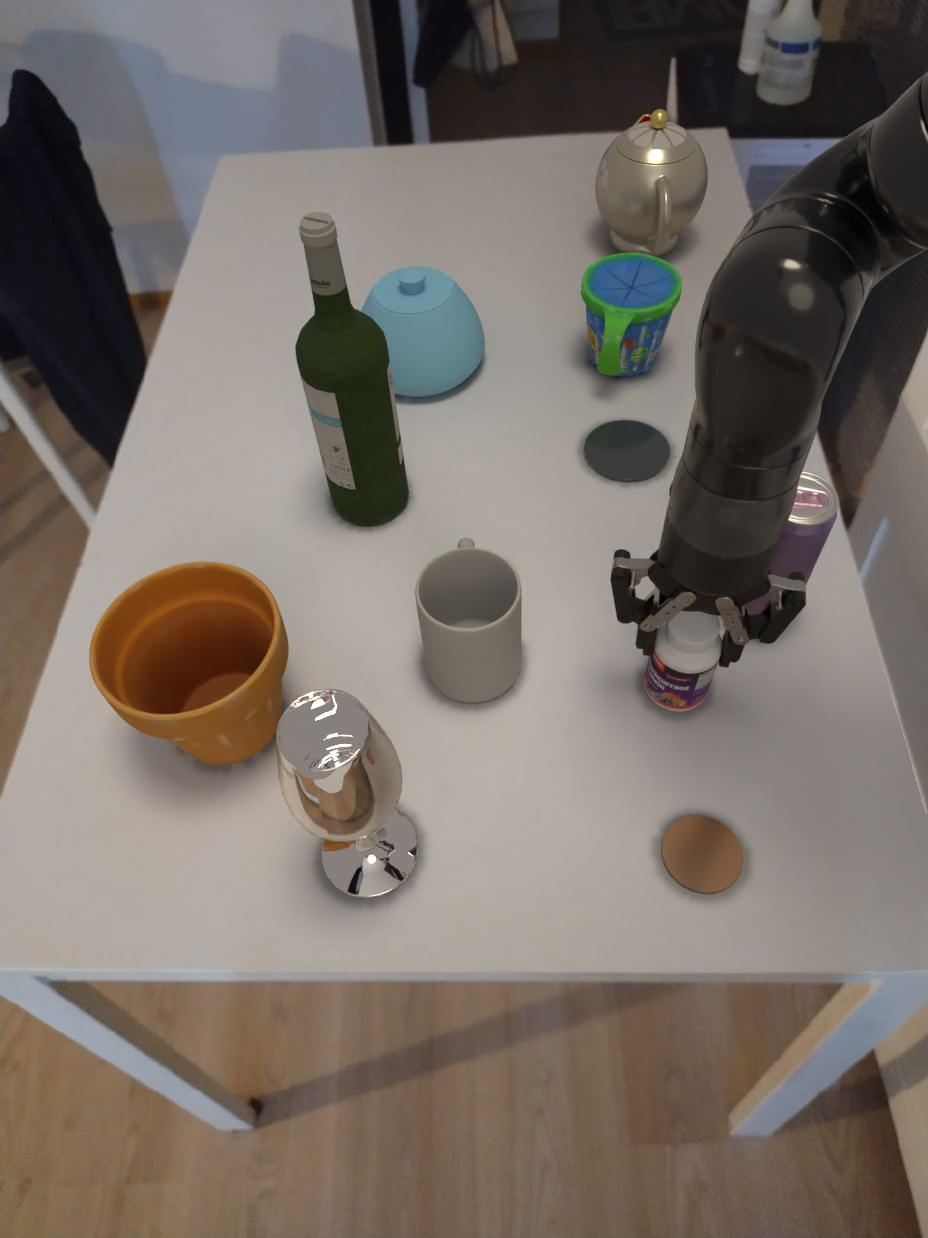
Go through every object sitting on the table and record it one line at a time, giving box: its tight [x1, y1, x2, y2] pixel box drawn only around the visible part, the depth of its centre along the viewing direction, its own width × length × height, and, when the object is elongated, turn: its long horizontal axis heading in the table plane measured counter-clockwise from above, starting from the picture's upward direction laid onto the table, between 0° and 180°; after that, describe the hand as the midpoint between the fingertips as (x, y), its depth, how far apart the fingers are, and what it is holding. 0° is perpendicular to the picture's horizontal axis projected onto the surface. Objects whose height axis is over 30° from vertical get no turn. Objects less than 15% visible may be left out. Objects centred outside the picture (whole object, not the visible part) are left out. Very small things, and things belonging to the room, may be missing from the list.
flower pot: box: [88, 561, 289, 766], centre depth 69 cm, size 14×14×13 cm
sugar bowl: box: [360, 265, 486, 398], centre depth 96 cm, size 15×15×12 cm
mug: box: [414, 537, 523, 704], centre depth 73 cm, size 12×8×11 cm
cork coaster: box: [661, 815, 744, 894], centre depth 65 cm, size 6×6×1 cm
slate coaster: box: [583, 419, 671, 483], centre depth 90 cm, size 9×9×1 cm
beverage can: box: [747, 470, 840, 615], centre depth 72 cm, size 6×6×15 cm
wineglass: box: [275, 688, 420, 899], centre depth 59 cm, size 8×8×20 cm
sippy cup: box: [580, 252, 683, 378], centre depth 95 cm, size 16×10×10 cm
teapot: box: [594, 108, 709, 258], centre depth 105 cm, size 18×14×16 cm
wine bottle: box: [294, 211, 410, 527], centre depth 76 cm, size 8×8×30 cm
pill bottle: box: [643, 611, 723, 713], centre depth 70 cm, size 5×5×10 cm
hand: (685, 651), depth 69 cm, fingers closed on pill bottle, 5 cm apart
